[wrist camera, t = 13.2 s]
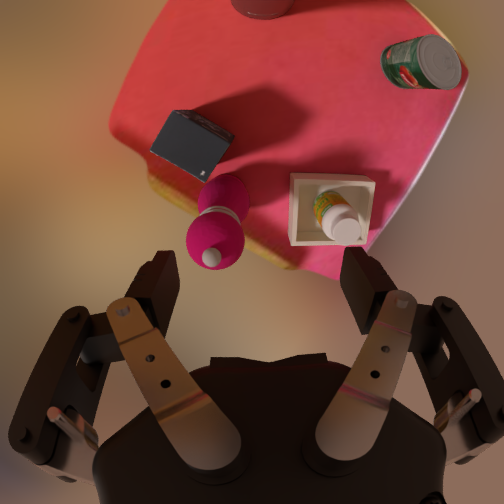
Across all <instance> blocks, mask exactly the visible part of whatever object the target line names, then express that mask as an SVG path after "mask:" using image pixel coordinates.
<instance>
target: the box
mask: <svg viewBox="0 0 504 504" xmlns="http://www.w3.org/2000/svg"><path fill="white" fill-rule="evenodd" d="M234 137H235V135H233V134H231V133H230V132H228V131H226V130H225V129H223V128H221V127H220V126H218V125H216V124H215V123H213V122H212V121H210V120H208V119H206V118H205V117H203V116H201V115H200V114H198V113H196V112H194V111H193V110H173V111H172V112H171V114H170V115H169V117H168V119H167V120H166V122H165V124H164V125H163V127H162V129H161V130H160V132H159V134H158V136H157V137H156V139H155V141H154V142H153V144H152V146H151V148H150V152H152V153H154V154H156V155H158V156H160V157H162V158H164V159H166V160H167V161H169V162H171V163H173V164H175V165H176V166H178V167H180V168H181V169H183V170H185V171H186V172H188V173H190V174H191V175H193V176H195V177H196V178H198V179H199V180H201V181H202V182H204V183H205V182H206V181H207V179H208V177H209V176H210V174H211V173H212V171H213V170H214V168H215V167H216V165H217V164H218V162H219V161H220V159H221V158H222V156H223V155H224V153H225V152H226V150H227V149H228V147H229V146H230V144H231V142H232V141H233V139H234Z"/></svg>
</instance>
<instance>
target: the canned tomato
mask: <svg viewBox="0 0 504 504" xmlns="http://www.w3.org/2000/svg"><path fill="white" fill-rule="evenodd" d="M380 64H381V68H382V71H383V73H384V75H385V77H386V78H387V79H388V80H389V81H390V82H391V83H392V84H393V85H395V86H397V87H399V88H402V89H443V90H450V89H453V88H455V87H456V86H457V85H458V83H459V82H460V79H461V73H462V71H461V63H460V60H459V57H458V55H457V53H456V51H455V50H454V48H453V47H452V46H451V45H450V43H448V42H447V41H446V40H445V39H443V38H442V37H440V36H438V35H433V34H429V35H425V36H421V37H417V38H414V39H410V40H406V41H403V42H400V43H396V44H394V45H390V46H387V47H386V48H385V49H384V50H383V51H382V54H381V57H380Z"/></svg>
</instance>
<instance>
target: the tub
mask: <svg viewBox="0 0 504 504" xmlns="http://www.w3.org/2000/svg"><path fill="white" fill-rule="evenodd" d="M374 190H375V182H374V181H373V180H371V179H370V178H368V177H367V176H365V175H350V174H329V173H290V195H289V222H288V236H289V239H290V243H291V246H304V245H340V244H338V243H337V242H336V241H335V240H332V239H330V238H329V237H328V236H327V235H326V234H325V233H324V231H323V229H322V228H321V226H320V224H319V222H318V220H317V219H316V217H315V215H314V213H313V202H314V200H315V198H316V197H317V196H318V195H319V194H320V193H322V192H324V191H335V192H337V193H339V194H340V195H341V196H342V197H343V198H344V199H345V200H346V201H347V202H348V203H349V204H350V205H351V206H352V207H353V209H354V210H355V211H356V213H357V215H358V218H359V223H360V225H361V235H360V237H359V238H358V240H357V241H356V242H355V243H353V244H351V245H358V244H366V241H367V235H368V230H369V224H370V218H371V211H372V205H373V198H374Z"/></svg>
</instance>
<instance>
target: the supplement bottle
mask: <svg viewBox="0 0 504 504" xmlns="http://www.w3.org/2000/svg"><path fill="white" fill-rule="evenodd" d="M313 213H314V215H315V217H316V219H317V220H318V222H319V224H320V226H321V228H322V229H323V231H324V233H325V234H326V235H327V236H328V237H329V238H330V239H332V240H335V241H336V242H337V243H338V244H340V245H344V246H347V245H351V244H353V243H355V242H356V241H357V240H358V238H359V237H360V235H361V225H360V223H359V218H358V215H357V213H356V211H355V210H354V209H353V207H352V206H351V205H350V204H349V203H348V202H347V201H346V200H345V199H344V198H343V197H342V196H341V195H340V194H339V193H337V192H335V191H324V192H322V193H320V194H319V195H318V196H317V197H316V198H315V200H314V202H313Z"/></svg>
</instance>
